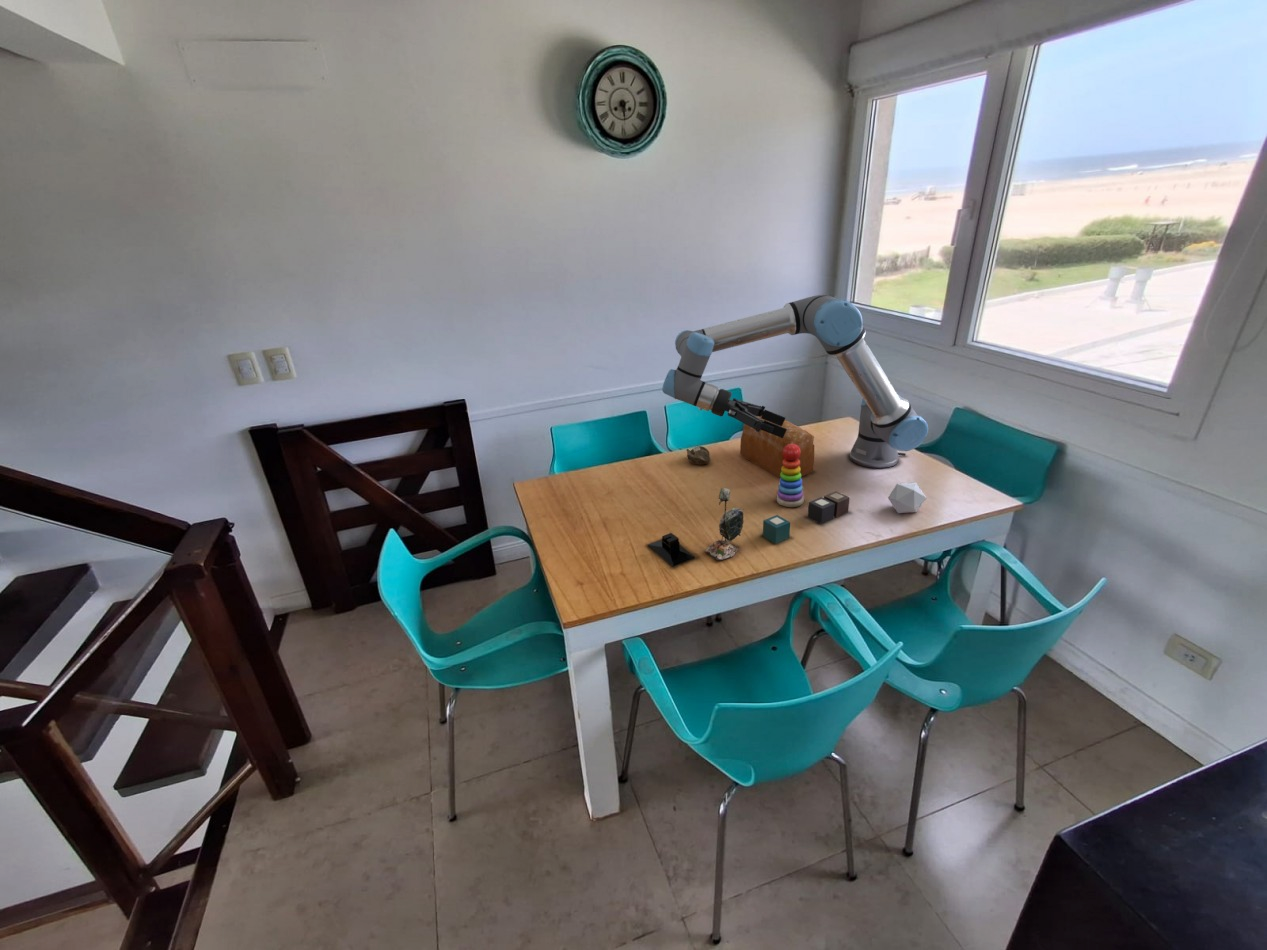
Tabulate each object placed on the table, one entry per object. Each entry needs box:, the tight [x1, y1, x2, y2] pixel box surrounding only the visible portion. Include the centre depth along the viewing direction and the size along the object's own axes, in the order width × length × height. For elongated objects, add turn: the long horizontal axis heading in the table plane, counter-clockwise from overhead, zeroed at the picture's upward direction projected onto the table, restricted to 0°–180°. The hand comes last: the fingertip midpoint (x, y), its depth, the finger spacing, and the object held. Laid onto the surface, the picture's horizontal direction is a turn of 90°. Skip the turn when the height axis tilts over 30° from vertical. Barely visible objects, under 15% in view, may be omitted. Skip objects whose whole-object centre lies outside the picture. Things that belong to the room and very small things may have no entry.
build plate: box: [647, 532, 696, 568], centre depth 147 cm, size 12×7×5 cm, turn 30°
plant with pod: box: [704, 487, 745, 561], centre depth 143 cm, size 8×11×20 cm
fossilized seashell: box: [686, 445, 711, 466], centre depth 198 cm, size 8×7×10 cm
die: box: [887, 482, 927, 514], centre depth 158 cm, size 8×9×10 cm
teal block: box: [762, 514, 791, 545], centre depth 150 cm, size 5×5×5 cm
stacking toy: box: [776, 444, 805, 508], centre depth 164 cm, size 8×8×19 cm
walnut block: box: [823, 490, 851, 518], centre depth 160 cm, size 5×5×5 cm
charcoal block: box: [807, 496, 835, 525], centre depth 157 cm, size 5×5×5 cm
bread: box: [739, 416, 815, 479], centre depth 190 cm, size 14×26×16 cm, turn 26°
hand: (784, 427), depth 158 cm, fingers open, 13 cm apart
